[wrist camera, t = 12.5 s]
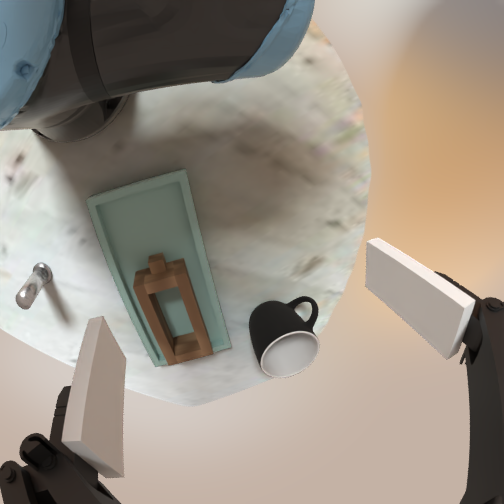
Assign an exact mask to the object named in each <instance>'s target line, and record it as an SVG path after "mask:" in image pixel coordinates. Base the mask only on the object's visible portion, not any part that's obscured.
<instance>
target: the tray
mask: <svg viewBox="0 0 504 504" xmlns="http://www.w3.org/2000/svg"><path fill="white" fill-rule="evenodd" d="M86 203H87V206H88V210H89V213H90V216H91V219H92V222H93V225H94V228H95V231H96V234H97V237H98V240H99V242H100V245H101V248H102V251H103V253H104V256H105V259H106V261H107V264H108V266H109V269H110V271H111V274H112V276H113V279H114V281H115V284H116V286H117V288H118V291H119V293H120V295H121V298H122V300H123V302H124V305H125V307H126V309H127V311H128V313H129V316H130V318H131V320H132V322H133V324H134V326H135V328H136V330H137V332H138V334H139V336H140V338H141V340H142V342H143V344H144V346H145V348H146V350H147V352H148V354H149V356H150V358H151V360H152V362H153V364H154V365H155V367H158V366H162V365H166V364H168V363H167V361H166V359H165V357H164V355H163V353H162V351H161V349H160V347H159V345H158V343H157V341H156V339H155V337H154V335H153V332H152V330H151V328H150V326H149V324H148V322H147V319H146V317H145V315H144V313H143V310H142V308H141V306H140V304H139V301H138V299H137V296H136V294H135V292H134V289H133V283H134V278H135V272H136V271H139V270H142V269H146V268H149V265H148V259H149V256H151V255H155V254H158V253H162V252H163V254H164V257H165V260H166V263H167V262H171V261H174V260H178V259H181V258H184V260H185V264H186V267H187V270H188V273H189V277H190V280H191V283H192V286H193V289H194V292H195V296H196V299H197V302H198V305H199V308H200V311H201V314H202V317H203V320H204V323H205V326H206V329H207V331H208V334H209V338H210V342H211V346H212V350H213V352H216V351H220V350H223V349H227V348H230V347H231V343H230V340H229V337H228V333H227V330H226V326H225V323H224V319H223V316H222V312H221V308H220V305H219V301H218V298H217V294H216V290H215V287H214V283H213V279H212V275H211V272H210V268H209V264H208V260H207V256H206V252H205V248H204V244H203V240H202V236H201V232H200V228H199V224H198V220H197V216H196V212H195V208H194V203H193V199H192V195H191V190H190V186H189V182H188V177H187V173H186V170H185V169H182V170H178V171H174V172H170V173H167V174H163V175H159V176H156V177H152V178H148V179H145V180H141V181H138V182H135V183H131V184H128V185H125V186H121V187H118V188H115V189H112V190H109V191H106V192H103V193H100V194H97V195H94V196H91V197H89V198H88V199H87V200H86ZM155 295H156V297H157V300H158V302H159V305H160V307H161V310H162V312H163V315H164V317H165V320H166V322H167V324H168V327H169V329H170V331H171V334H172V336H173V337H176V336H180V335H184V334H188V333H191V332H194V330H193V327H192V324H191V322H190V319H189V316H188V314H187V311H186V308H185V305H184V302H183V300H182V297H181V294H180V291H179V288H178V286H177V287H174V288H170V289H166V290H163V291H159V292H156V293H155Z"/></svg>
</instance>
